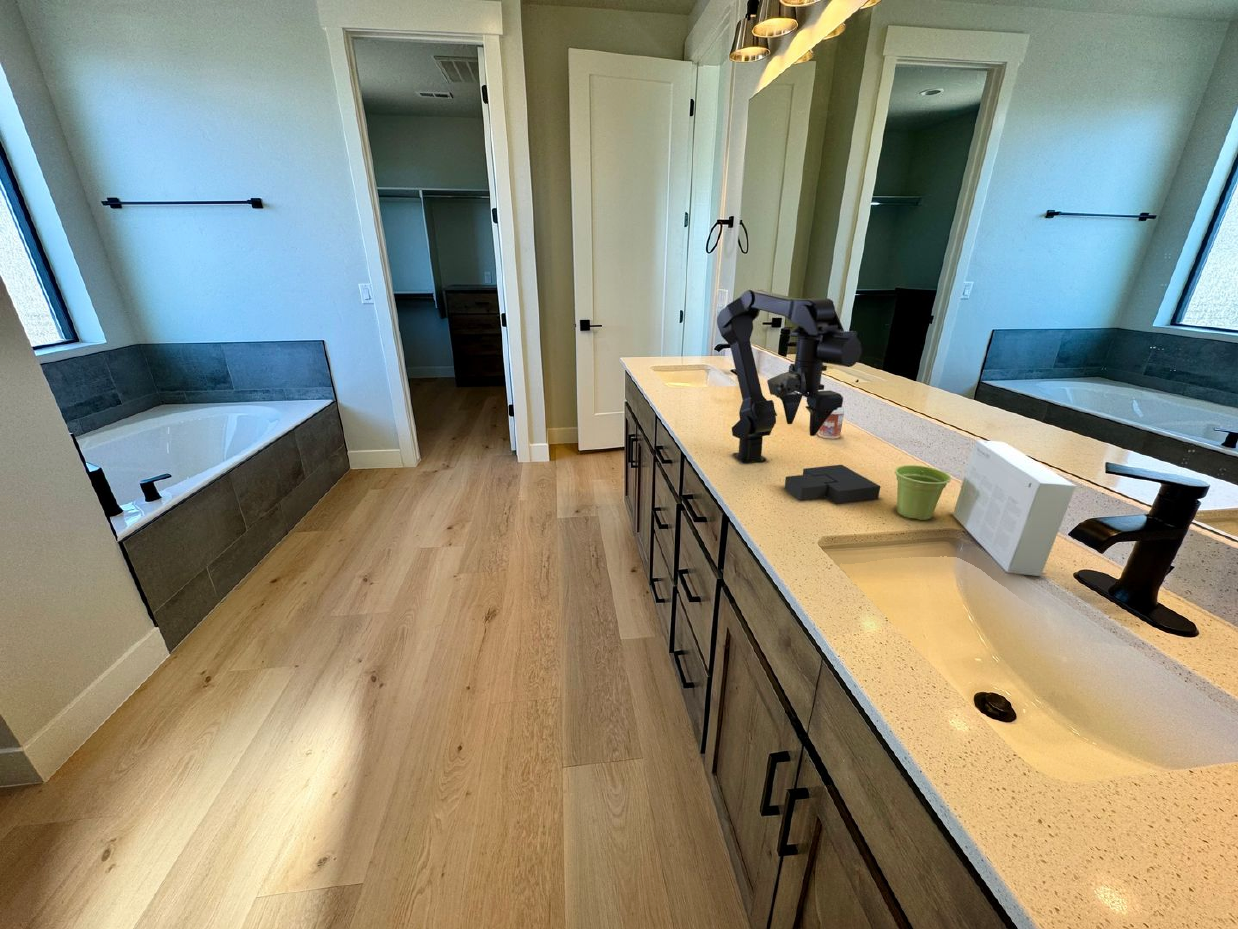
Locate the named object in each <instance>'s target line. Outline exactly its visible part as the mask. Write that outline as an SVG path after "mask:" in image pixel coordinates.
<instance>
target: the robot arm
mask: <svg viewBox="0 0 1238 929" xmlns="http://www.w3.org/2000/svg"><path fill="white" fill-rule="evenodd" d="M761 311H763V312H767V313H770V314H774V315H777V316H782V317H784V318H787V319H788V320H789V322H790V323H792V325H795V326H796V328H795V329H794V330H793V331H792V332H790V333H789V337H791V338H796V339H797V341H796V348H795V349H796V350H795V357H794V363H790V364H789V366H788V371H785V372H783V373H780V374H777V375H776V376H773V377H771V378H769V379H767V380H766V381H767V387H768V390H769V394H770V395H771V396H775V397H776V398H778V399H780V400H781V403H782V406H783V407H782V408H783V412H784V415H785V419H786V424H787V425H793V422H794V421H795V419H796V415H797V412H798V409H799V407H800V404H801V401H802V398H803V397H805V398H806V404H807V405H805V409H806V410H807V411H808V412H809V436H810V437H815V436H816V435H817V434H818V431H819V429H820V428H821V426H822V425H823V423H824V422H825V421H826V419H827V418H828V417H829V416H830V414H831V413H832V412H833V411H834V410H837V409H838V408H841V407H843V405H842V404H844V397H843V395H842V394H841V393H838V392H836V391H833V390H830V389H829V390H825V384H822V383H821V382H822V374H823V372H827V370H828V366H827V365H825V364H828V365H834V366H840V367H844V368H851V367H853V366H855V365H856V364H857V363H858V361H859V360H860V359H861V356H862V352H863V348H862V345H861V344H862V343H861V341H860V340H859V339H858V338H857V336H858V332H857V330H848V331H847V330H846V331H845V328H844V327H843V324H842V322H841V320H840V317H839V316H838V313H837V311H836V307H835V304H834V301H833V300H832V299H831V298H827V297H821V298H820V297H819V298H796V297H792V296H787V295H783V294H778V293H774V292H771V291H770V292H769V291H765V290H764V289H748V290H745V292H743V293H742V294H741V295H740V297H738V298H736V299H735V300H733V301H731V302H729V303H728V304H727V305H726V306H725V307H724V308H722V309H721V310H720V311H719V313H718V315H717V318H716V324H717V328H718V330H719V333H720V336H721V338H722V339H723V340H724V341H725V342H726V343H727V344H728V345H729V347H730V351H731V356H732V360H733V366H734V369H735V373H736V378H737V382H738V386H739V390H740V394H741V399H742V401H741V405H740V407H739V411H738V415H739V420H738V421H737V422H736V423H735V424H734V425H733V426H732V427H731V434H732V437H735V438H737V439H739V440H738V441H739V442H738V452H733V453H732V456H733V457H735V458H736V459H737V460H739V461H740V462H741V463H743V464H748V463H749V464H750V463H759V462H766V461H767V458H766V457H764V456H763V455H762V453H763V452H762V451H763V440H764V438H763V437H766V436H771V433H772V431H773V429H774V427H775V425H776V423H777V416H778V414H777V412H776V409H775V408H776V407H775V402H774V401H773V399H766V397H765V396H764V395H763V391H762V387H761V383H760V378H759V373H758V370H757V365H756V360H755V355H754V352H753V348H752V344H751V338H752V334H753V332H754V331H753V330H754V321H755V320H756V319H757V318H758V317H759V316H760V312H761Z"/></svg>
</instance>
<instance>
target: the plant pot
mask: <svg viewBox="0 0 1238 929" xmlns="http://www.w3.org/2000/svg"><path fill="white" fill-rule="evenodd" d="M894 473H895V475H896V482H897V488H896V489H897V490H896V491H897V492H896V511H897V513H898V514H899V515H900V516H902V517H905V518H908V519H917V520H920V521H927V520H930V519H931V518H932V517H933V514H934V512H935V510H936V508H937V504H938V502H939V500H940V498H941V495H942V493H943V490H944V489H945V488H946V486H947V484H948V483H950V482H951V480H952V477H951V476H950V474H948V473H946V472H945V471H944V470H940V469H938V468H933V467H930V466H925V465H916V464H905V465H899V466H897V467H895V469H894Z"/></svg>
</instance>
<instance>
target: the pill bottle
mask: <svg viewBox="0 0 1238 929" xmlns="http://www.w3.org/2000/svg"><path fill="white" fill-rule="evenodd" d="M843 404H844V403H843ZM843 404H842V407H841V408H838V409H837V410H834V411H833V412H832V413H831V414H830V416H829V417H828V418H827V419H826V421H825V422H824V423H823V425H822V426H821V428H820V429H819V431H818V432H817V435H818V436H819V437H820V438H824V439H831V440H835V439H839V438H840V437H841V434H842V427H843V421H844V416H845V408H844V407H843Z"/></svg>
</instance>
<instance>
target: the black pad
mask: <svg viewBox="0 0 1238 929" xmlns="http://www.w3.org/2000/svg"><path fill="white" fill-rule="evenodd" d="M784 480H785V481H784V490H785V491H787V492H788V493H789V494H791V495H792V496H793V497H794V498H796V499H797V500H799V502H800V501H801V502H803V501H810V500H811V501H812V500H818V499H826V498H827V497H826V491H827V485H826V483H834V482H835V480H833V479H831V478H830V477H828V476H826V475H823V476H812V475H811V474H806V475H803V474H797V475H789V476H785V479H784Z"/></svg>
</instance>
